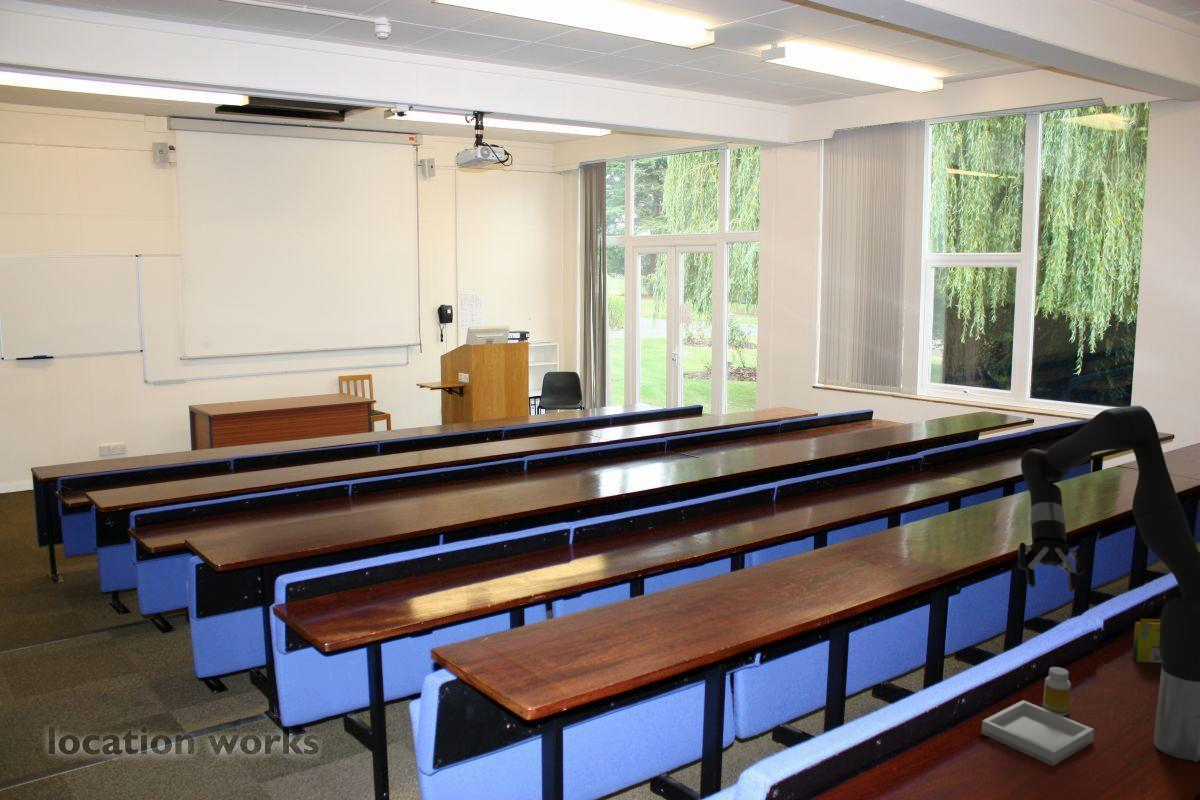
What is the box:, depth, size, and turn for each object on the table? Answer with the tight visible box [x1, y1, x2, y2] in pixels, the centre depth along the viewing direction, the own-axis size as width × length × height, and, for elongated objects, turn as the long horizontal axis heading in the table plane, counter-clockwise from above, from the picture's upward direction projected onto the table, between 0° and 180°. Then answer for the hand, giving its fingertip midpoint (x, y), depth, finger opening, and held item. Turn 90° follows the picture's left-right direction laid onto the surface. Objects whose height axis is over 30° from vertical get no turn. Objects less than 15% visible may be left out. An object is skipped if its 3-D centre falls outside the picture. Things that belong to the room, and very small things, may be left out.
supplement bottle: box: [1042, 666, 1072, 717], centre depth 215 cm, size 5×5×10 cm
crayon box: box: [1131, 618, 1162, 664], centre depth 241 cm, size 7×3×12 cm, turn 84°
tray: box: [980, 699, 1095, 767], centre depth 204 cm, size 16×16×3 cm
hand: (1052, 588), depth 223 cm, fingers open, 8 cm apart
